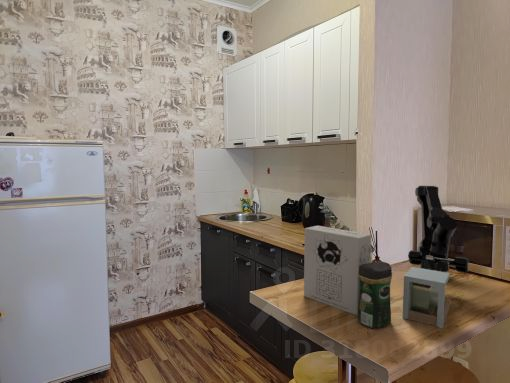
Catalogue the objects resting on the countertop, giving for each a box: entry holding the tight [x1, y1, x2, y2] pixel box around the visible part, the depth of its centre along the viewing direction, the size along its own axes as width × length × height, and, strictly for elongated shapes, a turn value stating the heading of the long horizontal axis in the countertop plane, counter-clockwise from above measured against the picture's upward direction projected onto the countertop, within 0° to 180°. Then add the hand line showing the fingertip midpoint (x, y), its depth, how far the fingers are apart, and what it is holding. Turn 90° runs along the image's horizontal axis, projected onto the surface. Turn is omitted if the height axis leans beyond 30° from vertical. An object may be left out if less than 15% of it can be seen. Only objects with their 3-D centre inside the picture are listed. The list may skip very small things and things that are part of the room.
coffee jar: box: [357, 260, 393, 329], centre depth 104 cm, size 10×8×19 cm
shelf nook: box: [402, 266, 451, 329], centre depth 110 cm, size 17×11×14 cm, turn 144°
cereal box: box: [303, 225, 372, 316], centre depth 118 cm, size 22×8×25 cm, turn 43°
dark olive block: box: [411, 283, 439, 315], centre depth 114 cm, size 16×5×10 cm, turn 142°
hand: (434, 282), depth 120 cm, fingers closed
